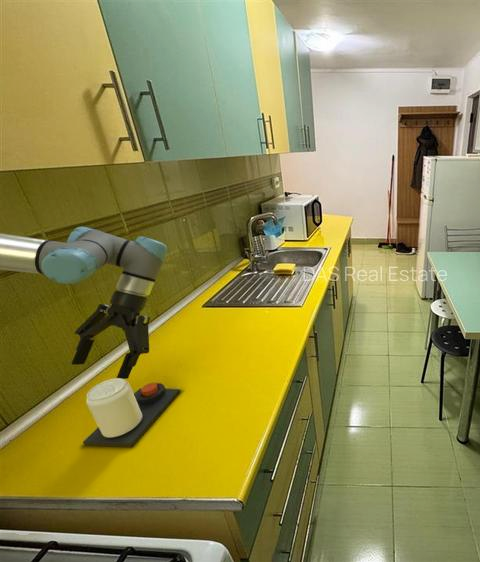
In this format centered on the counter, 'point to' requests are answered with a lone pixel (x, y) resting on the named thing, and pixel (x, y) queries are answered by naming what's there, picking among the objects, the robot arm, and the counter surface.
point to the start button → (149, 389)
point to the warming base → (150, 412)
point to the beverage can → (114, 407)
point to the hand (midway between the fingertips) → (99, 371)
